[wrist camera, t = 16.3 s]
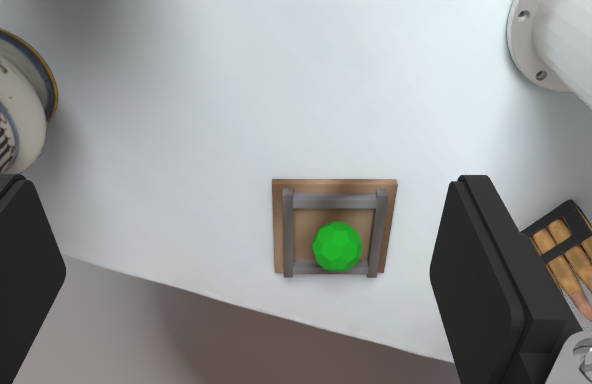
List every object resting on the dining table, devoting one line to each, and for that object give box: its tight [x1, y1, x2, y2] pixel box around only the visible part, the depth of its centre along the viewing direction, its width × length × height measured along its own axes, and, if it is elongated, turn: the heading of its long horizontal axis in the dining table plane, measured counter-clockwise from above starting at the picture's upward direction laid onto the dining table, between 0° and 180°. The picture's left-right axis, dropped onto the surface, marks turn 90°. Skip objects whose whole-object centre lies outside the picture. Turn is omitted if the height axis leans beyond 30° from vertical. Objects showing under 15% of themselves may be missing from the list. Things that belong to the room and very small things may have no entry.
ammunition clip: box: [520, 200, 592, 321], centre depth 47 cm, size 11×2×12 cm, turn 140°
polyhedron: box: [311, 221, 363, 272], centre depth 49 cm, size 5×5×5 cm
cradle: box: [272, 179, 397, 278], centre depth 50 cm, size 12×12×2 cm
